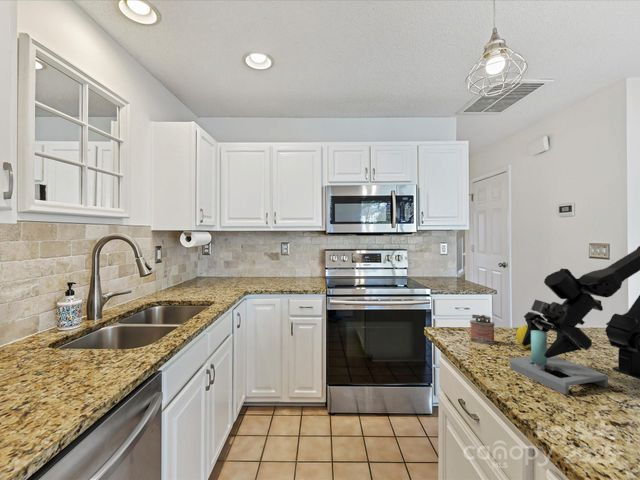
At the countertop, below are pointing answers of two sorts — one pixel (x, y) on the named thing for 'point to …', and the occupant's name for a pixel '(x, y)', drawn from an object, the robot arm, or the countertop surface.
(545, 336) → the peg
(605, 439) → the countertop surface
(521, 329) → the lemon
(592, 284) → the robot arm
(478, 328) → the lighter
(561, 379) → the keyhole plate
